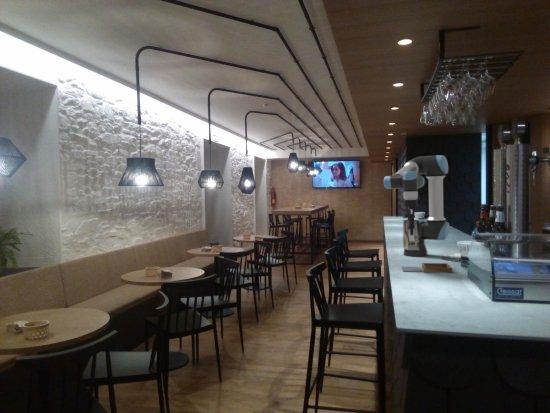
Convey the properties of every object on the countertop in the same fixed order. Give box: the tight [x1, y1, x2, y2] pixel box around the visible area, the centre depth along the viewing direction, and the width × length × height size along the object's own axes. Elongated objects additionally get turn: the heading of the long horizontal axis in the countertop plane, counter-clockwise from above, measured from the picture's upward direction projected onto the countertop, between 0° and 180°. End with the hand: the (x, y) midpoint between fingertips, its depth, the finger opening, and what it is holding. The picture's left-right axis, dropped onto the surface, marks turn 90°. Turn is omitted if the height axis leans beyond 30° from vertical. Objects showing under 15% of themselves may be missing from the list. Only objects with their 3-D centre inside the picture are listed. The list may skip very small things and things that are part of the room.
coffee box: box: [402, 219, 419, 250], centre depth 236 cm, size 9×6×16 cm
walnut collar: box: [421, 262, 453, 274], centre depth 234 cm, size 14×14×2 cm
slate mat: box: [401, 266, 423, 273], centre depth 237 cm, size 12×10×1 cm
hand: (411, 239), depth 236 cm, fingers closed on coffee box, 10 cm apart
